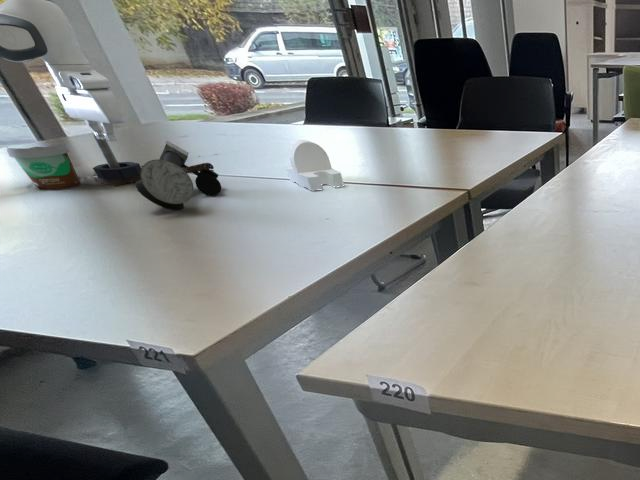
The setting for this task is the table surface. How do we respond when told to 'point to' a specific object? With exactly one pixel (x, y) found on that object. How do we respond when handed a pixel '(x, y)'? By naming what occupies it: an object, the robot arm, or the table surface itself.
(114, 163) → the peg stand
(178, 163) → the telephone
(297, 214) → the table surface
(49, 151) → the food container
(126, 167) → the ring
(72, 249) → the table surface
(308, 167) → the white round-backed notched block
